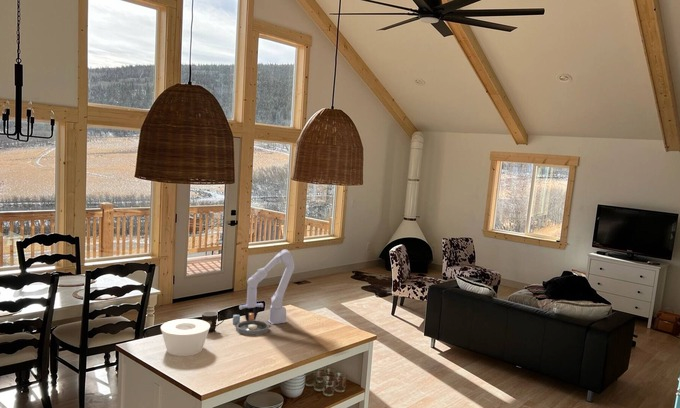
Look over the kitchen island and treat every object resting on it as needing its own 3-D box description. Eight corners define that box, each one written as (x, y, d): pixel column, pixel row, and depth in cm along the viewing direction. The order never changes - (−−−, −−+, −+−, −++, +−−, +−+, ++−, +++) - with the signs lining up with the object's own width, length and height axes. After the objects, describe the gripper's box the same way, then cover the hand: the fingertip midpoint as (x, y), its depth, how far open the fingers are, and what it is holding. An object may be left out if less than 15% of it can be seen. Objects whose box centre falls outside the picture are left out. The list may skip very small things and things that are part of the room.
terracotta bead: (252, 320, 311) (252, 312, 310) (254, 322, 307) (255, 314, 307) (246, 321, 309) (246, 313, 308) (248, 323, 305) (249, 315, 305)
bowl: (218, 351, 261) (218, 328, 259) (172, 362, 244) (173, 338, 243) (195, 337, 278) (196, 315, 277) (151, 346, 262) (152, 323, 260)
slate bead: (238, 322, 306) (238, 314, 306) (240, 324, 303) (240, 316, 302) (231, 323, 304) (232, 314, 303) (234, 325, 301) (234, 317, 300)
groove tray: (260, 323, 307) (261, 319, 307) (273, 333, 292) (273, 328, 292) (231, 326, 298) (232, 322, 298) (243, 337, 283) (243, 332, 282)
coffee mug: (198, 332, 286) (198, 314, 285) (206, 327, 294) (207, 310, 293) (216, 335, 283) (217, 317, 282) (224, 330, 291) (225, 313, 290)
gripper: (260, 294, 314) (259, 316, 315) (237, 296, 306) (236, 319, 307) (265, 297, 308) (263, 319, 309) (241, 300, 300) (240, 322, 302)
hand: (250, 319), depth 308 cm, fingers closed on terracotta bead, 4 cm apart
